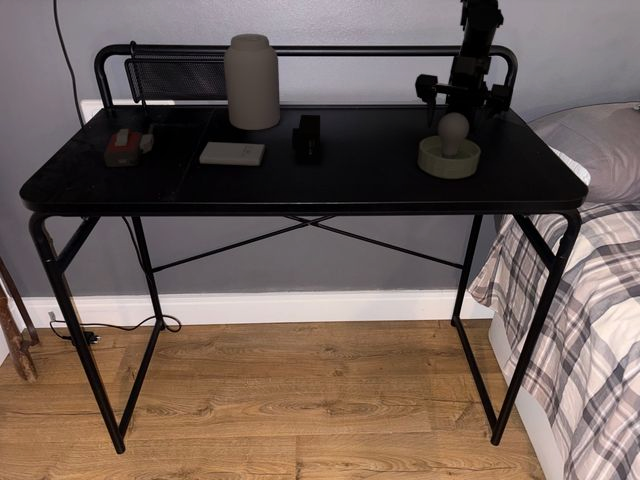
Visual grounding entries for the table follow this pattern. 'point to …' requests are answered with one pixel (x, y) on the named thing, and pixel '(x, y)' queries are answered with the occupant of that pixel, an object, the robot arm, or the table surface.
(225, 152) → the hard drive
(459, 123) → the lightbulb
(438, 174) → the bowl
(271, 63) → the wide mouth jar
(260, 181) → the table surface
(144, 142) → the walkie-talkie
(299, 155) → the digital camera
